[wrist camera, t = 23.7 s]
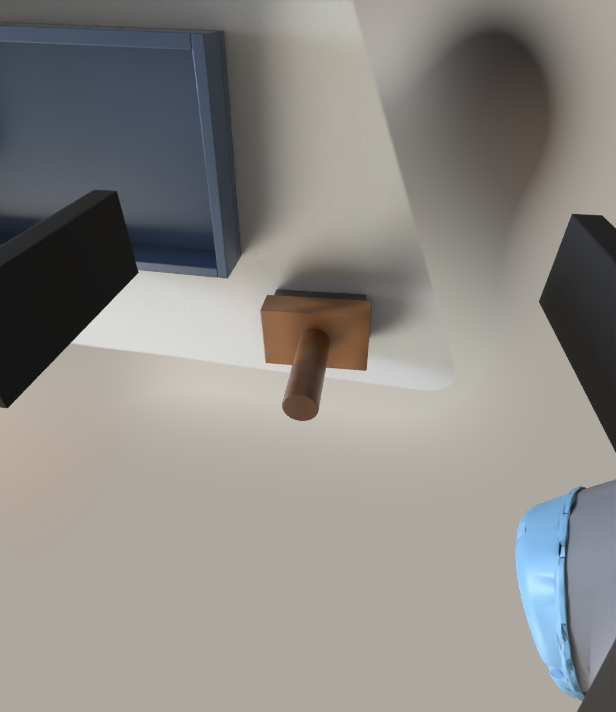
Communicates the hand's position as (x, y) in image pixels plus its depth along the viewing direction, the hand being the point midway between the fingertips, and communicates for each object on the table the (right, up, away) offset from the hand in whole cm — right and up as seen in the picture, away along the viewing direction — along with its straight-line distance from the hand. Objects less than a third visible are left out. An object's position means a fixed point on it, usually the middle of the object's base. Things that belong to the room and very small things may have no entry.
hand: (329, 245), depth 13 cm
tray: (-19, +13, +21) cm, 31 cm away
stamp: (+1, 0, +27) cm, 27 cm away
